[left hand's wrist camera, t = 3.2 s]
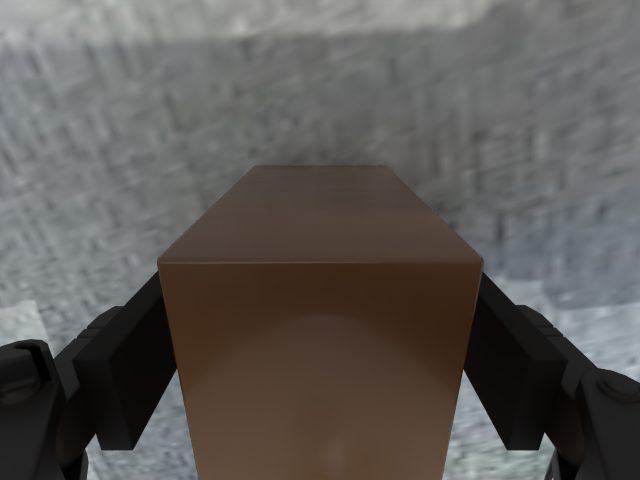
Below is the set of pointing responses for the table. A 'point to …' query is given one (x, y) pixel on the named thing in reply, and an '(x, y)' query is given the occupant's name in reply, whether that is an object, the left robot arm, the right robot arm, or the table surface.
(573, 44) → the table surface
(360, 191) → the beam
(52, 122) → the table surface
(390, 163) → the table surface
